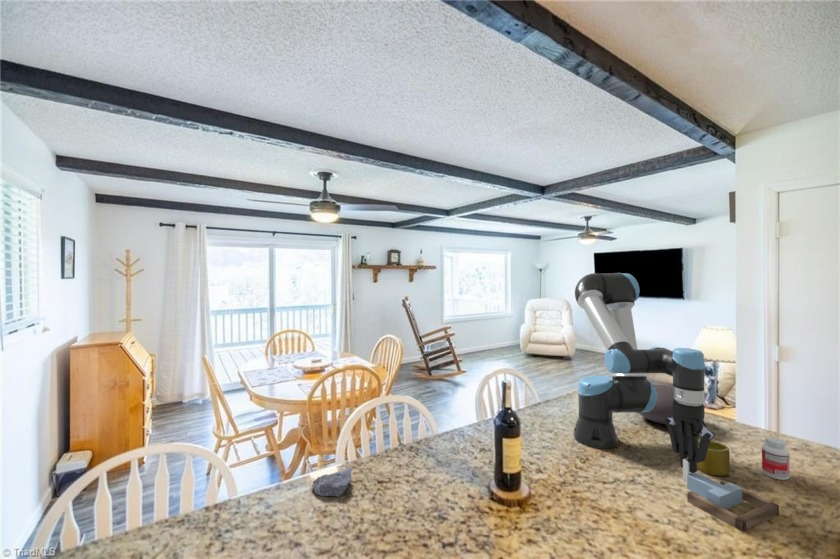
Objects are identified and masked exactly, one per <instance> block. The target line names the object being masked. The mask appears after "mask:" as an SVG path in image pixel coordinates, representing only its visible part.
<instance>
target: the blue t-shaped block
mask: <svg viewBox="0 0 840 559" xmlns="http://www.w3.org/2000/svg"><path fill="white" fill-rule="evenodd" d="M686 484H687V486H686V489H687V490H689V491H690V492H693V493H695V494H697V495H699V496H701V497H703V498H705V499H707V500H709V501H711V502H712V503H714V504H716V505H718V506H720V507H722V508H724V509H726V510H728V509H730V508H733V507H736V506H738V505H740V504H742V503H743V500H742V489H743V487H740V486H738V485H736V484H735V483H734V484H733V483H732V482H729V483H727V484H724V485H722V484H720V482H718V481H716V480H713V479H711V478H709V477H707V476H705V475H703V474H700V473H699V472H695V473H693V474H690V475H687V483H686ZM735 505H736V506H735Z"/></svg>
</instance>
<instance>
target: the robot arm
mask: <svg viewBox="0 0 840 559" xmlns="http://www.w3.org/2000/svg"><path fill="white" fill-rule="evenodd" d="M640 290H641V289H640V285H639V282H638V281H637V279H636V277H634V276H633V275H632V274H631V273H627V272H626V273H621V272H613V273H612V272H611V273H610V272H608V273H606V272H605V273H601V272H600V273H598V272H595V273H589V274H586V275H584V276H582V277H581V279H579V281H578V282H577V284H576V286H575V289H574V298H575V301H576V303H577V304H578V306H579V308H581V309H583V310H584V312H585V314H586V316H587V317H588V319H589V321H590V323H591V325H592V327H593V328H594V331H595V332H596V333H597V335H598V337H599V339H600V341H601V343H602V345H603V347H604V349H605V350H606V351H605V354H604V356H603V357H604V358H603V360H604V363H605V367H606V369H607V370H608V371H609V372H610V373H612V374H611V377H609V376H605V375H598V374H597V375H588V376H585V377H583V378H581V379H580V380H579V381H578V390H577V393H578V417H577V420H576V423H575V426H574V429H573V437H574V440H576V441H577V442H578V443H580V444H583V445H586V446H587V447H590V448H591V447H592V448H597V449H613V448H615V447H617V446H618V444H619V436H618V434H617V433H616V430H615V426H614V422H613V414H616V413H617V414H618V413H620V414H622V413H623V414H624V413H629V414H632V413H636V414H639V413H641V412H649V411H651V410H652V409H653V408H654V406H655V404H656V401H657V393H656V389H655V387H654V384H653V382H652V381H650V380H648V378H647V375H646V374H665V375H668V376H671V377H672V387H673V398H674V399H675V400H674V401H673V412H674V414H673V416H672V418H666V419H665V423H666V424H667V425H666V424H665V425H666V427H667V429H668V430H667V431H668V433H669V434H668V435H669V438H670V439H669V440H670V443H671V446H672V451H673V453H674V454H676V455H678V456H679V460H680V461H679V465H680V466H679V467H680V468H681V469H682V482H684V483H686V484H687V475H690V474H693V473H698V472H697V471H698V468H697V463H699V462H703V461H705V457H706V454H707V451H708V448H709V444H710V441H712V439H713V438H714V437H715V436H716V434H715V433H714V432H713V431H710V430H709V429H707V427H706V423H705V422H704V421H705V419H704V418H705V405H704V404H705V403H706V402H705V400H706V399H705V398H706V397H705V378H706V377H705V370H706V364H705V354H704V353H703V352H702V351H701V350H699V349H696V348H695V349H694V348H689V347H687V348H686V347H678V348H677V347H676V348H673V350H670V349H668V348H665V347H659V346H653V347H650V348H649V349H638V343H637V338H636V331H635V324H634V319H633V312H632V309H633V307H634V306H635V303H636V301H637V300H638V299H639V297H640V292H641V291H640ZM700 433H701V434H700ZM700 435H701V438H700ZM698 439H699V440H700V443H699V447H698Z"/></svg>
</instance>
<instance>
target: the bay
mask: <svg viewBox="0 0 840 559" xmlns="http://www.w3.org/2000/svg"><path fill="white" fill-rule="evenodd" d="M719 483H720V484H722V485H724V484H727V483H730V482H729V481H727V480H724V479H722V480H719ZM743 500H744V501H743ZM742 501H743V502H745V501H746V502H745V503H747V502H748V503H747V504H750V505H751V504H752V505H751V506H753V505H754V506H753V507H756V508H754V509H752V510H750V511H747V512H745V513H743V514H740V515H738V514H736V513H734V512H731V511H729V510H728V509H724V508H722V507H720V506H718V505H716V504H714V503H712V502H711V501H709V500H707V499H706V498H704V497H702V496H700V495H698V494H696V493H694V492H692V491H688V492H687V503H690V504H691V505H693V506H695V507H696V508H699V509H700V510H702V511H704V512H706V513H707V514H710V515H711V516H713V517H715V518H717V519H719V520H720V521H722V522H724V523H725V524H727V525H729V526H732V527H733V528H735V529H737V530H738V531H741V532H745V531H747V530H749V529H751V528H753V527H755V526H757V525H760V524H762V523H764V522H767V521H769V520H771V519H773V518H775V517H777V516H779V515H780V504H777V503H775V502H773V501H770V499H767V498H764V497H762V496H760V495H758V494H755V493H754V492H751V491H748V490H747V489H744V488H742Z"/></svg>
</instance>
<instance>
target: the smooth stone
mask: <svg viewBox="0 0 840 559" xmlns="http://www.w3.org/2000/svg"><path fill="white" fill-rule="evenodd" d="M653 385H654V387H655V389H656V393H657V401H656V404H655V406H654V408H653V409H652V410H651V411H649V412H641V413H638V414H639V415H640V416H641V417H643V418H645V419H648V420H649V421H651V422H654V423H657V424H661V425H666V426H667V424H666V423H665V419H666V418H672V416H673V414H674V412H673V401H674V400H675V399H674V398H673V385H672V386H671V385H668V384H667V385H666V384H657V383H656V384H653Z"/></svg>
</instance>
